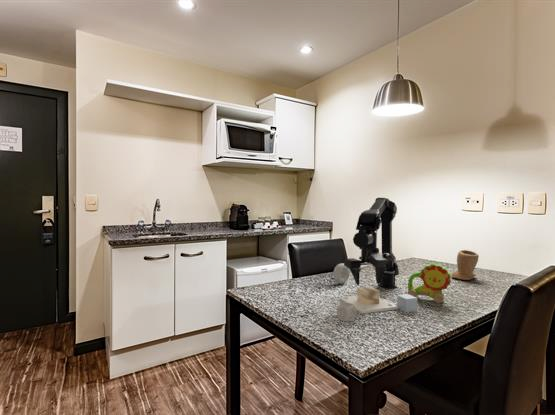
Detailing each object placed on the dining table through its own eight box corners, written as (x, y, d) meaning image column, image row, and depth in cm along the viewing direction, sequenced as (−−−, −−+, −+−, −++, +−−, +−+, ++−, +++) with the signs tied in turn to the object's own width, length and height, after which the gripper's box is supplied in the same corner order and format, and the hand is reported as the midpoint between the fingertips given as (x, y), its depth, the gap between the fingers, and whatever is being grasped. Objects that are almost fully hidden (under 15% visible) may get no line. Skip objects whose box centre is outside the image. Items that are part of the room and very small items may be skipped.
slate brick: (407, 306, 122) (407, 294, 122) (416, 311, 117) (417, 298, 117) (396, 307, 120) (397, 295, 120) (405, 312, 116) (406, 299, 115)
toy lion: (406, 298, 132) (407, 262, 132) (408, 294, 137) (409, 260, 137) (449, 305, 124) (451, 267, 124) (450, 301, 129) (451, 264, 129)
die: (356, 319, 108) (356, 304, 108) (349, 323, 105) (349, 308, 105) (343, 315, 112) (344, 301, 112) (336, 319, 108) (336, 304, 108)
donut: (345, 281, 157) (346, 261, 157) (351, 283, 154) (351, 262, 154) (331, 284, 151) (331, 263, 151) (336, 286, 149) (337, 265, 148)
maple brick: (370, 298, 127) (370, 286, 127) (379, 303, 122) (379, 290, 122) (357, 300, 125) (357, 287, 125) (365, 304, 120) (366, 291, 120)
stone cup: (473, 283, 158) (474, 253, 157) (448, 278, 167) (449, 250, 166) (482, 278, 168) (483, 250, 168) (458, 274, 177) (459, 247, 176)
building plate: (372, 296, 134) (372, 292, 134) (398, 309, 119) (398, 305, 119) (339, 299, 129) (339, 295, 129) (361, 313, 114) (361, 309, 114)
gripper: (359, 248, 112) (358, 292, 113) (402, 247, 118) (401, 288, 119) (343, 244, 123) (342, 283, 123) (384, 242, 129) (383, 280, 129)
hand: (367, 284), depth 123 cm, fingers open, 9 cm apart
